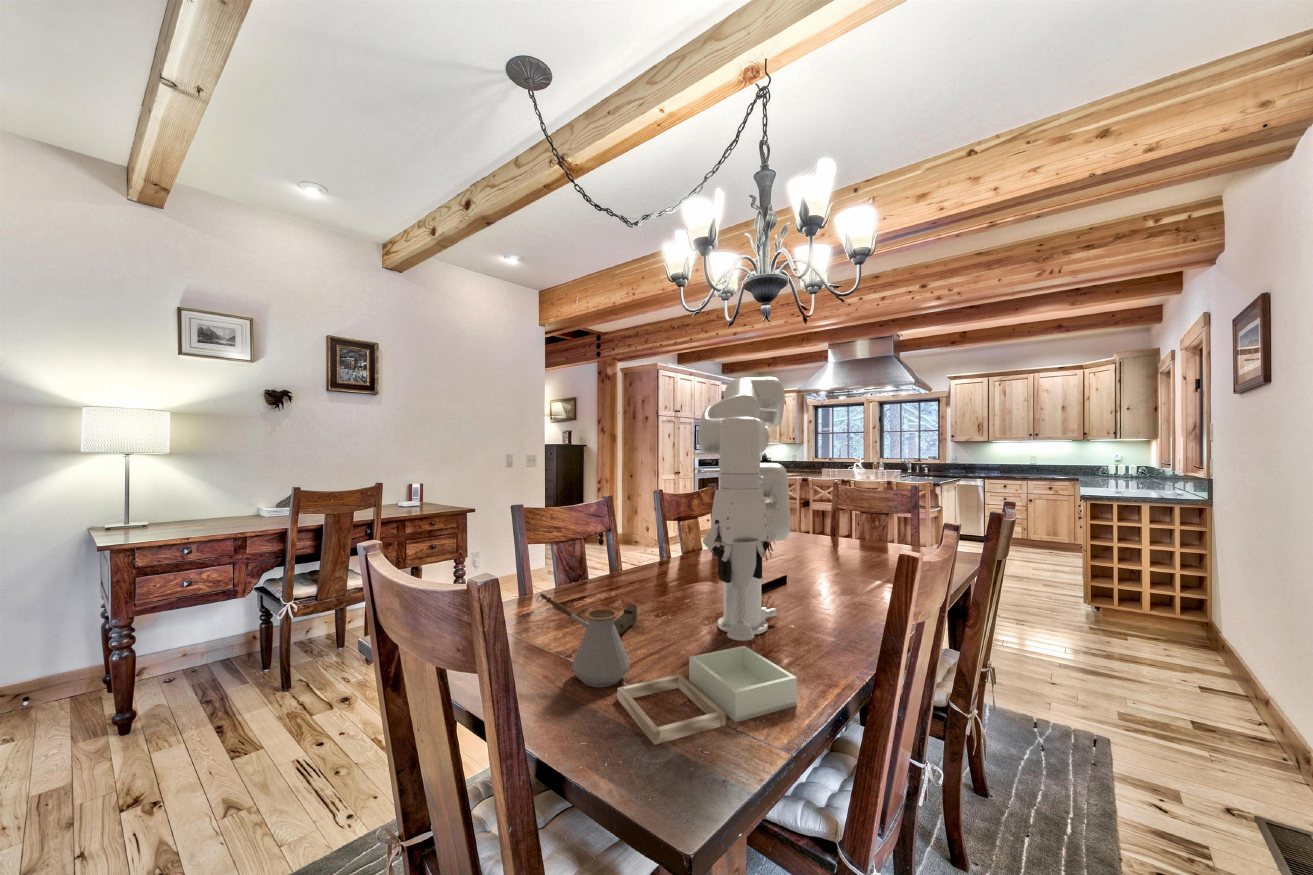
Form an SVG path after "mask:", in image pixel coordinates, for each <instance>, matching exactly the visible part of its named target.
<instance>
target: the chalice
mask: <svg viewBox="0 0 1313 875" xmlns="http://www.w3.org/2000/svg"><path fill="white" fill-rule="evenodd" d="M757 542H758V540H757V541H753V542H733V545H732V549H731V552H730V555H729V558H728V561H730V562H731V583H732V585H733V587H735V588H737V589H738V596H737V598H736V600H737V601H738V607H737V608H736V610H737V612H738V619H737V620H736V621H734V622H733V623H732V624H731V627H730V628H729V632H726V633H727V634H726V636H727V638H729V639H731V640H735V641H744V642H745V641H750V640H753V639H755V635H754V634H753V633H752V629H751V628H750V627H751V626H750V625H749V623H748V622H746V621H745V620H744V619H743V612H744V610H745V608H744V607H743V601H744V600H745V599H744V597H743V589H744V588H747V587H748V585H749V583H750V581H751V579H752V577H753V574H754V571H755V568H756V544H757Z"/></svg>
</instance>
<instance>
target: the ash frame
mask: <svg viewBox="0 0 1313 875" xmlns="http://www.w3.org/2000/svg"><path fill="white" fill-rule="evenodd" d="M675 689H679V690H680V691H681V692H682V693H683V694H684V695H685V696H686V697H687V698H688V699H689V700H691V702H693V703H694V704H695V705H696V706H698V708H699V709H701V710H702V712H703V713H705V714H703V715H700V716H696V717H692V718H688V719H685V720H680V721H676V722H672V723H669V724H664V725H661V726H657V725H656V723H654V722H653V720H652V719H651V718H650V717H649V716H648V715H647V713H646V712H645V711H644V710H643V709H642V708H641V706H640V705H639V704H638V703H637V702H636V701H635V700H634V699H636V698H640V697H645V696H648V695H653V694H656V693H657V694H658V693H662V692H666V691H670V690H675ZM616 697H617V698H616V700H618V702H619V703H620V704H621V705H622V706H623V708H624V709H625V710H626V712H627V713H628V714H629V715H630V717H631V718H632V719H633V721H634V722H635V723H636V724H637V726H638V727H639V728H640V729H641V730H642V732H643V733H644V734H645V736H647V738H648V739H649V741H650V742H651V743H652V744H653V746H657V745H660V744H663V743H666V742H671V741H674V740H677V739H681V738H685V737H689V736H692V735H695V734H700V733H703V732H706V731H710V730H714V729H718V728H721V727H722V728H723V727H725V726H726V714H725V712H723V711H722V710H721V709H720V708H719V707H718V706H716V705H715V704H714V703H713V702H712V701H711V700H710V699H708V698H707V697H706V696H705V695H704V694H703V693H701V692H700V691H699V690H698V689H697V688H696V687H694V686H693V685H692V684H691V683H690V682H689V680H688V679H687V678H685V677H684V676H683V675H682V674H680V673H678V674H676V675H671V676H667V677H662V678H656V679H652V680H648V681H643V682H638V683H634V684H627V685H625V686H620V687H617V694H616Z"/></svg>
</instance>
